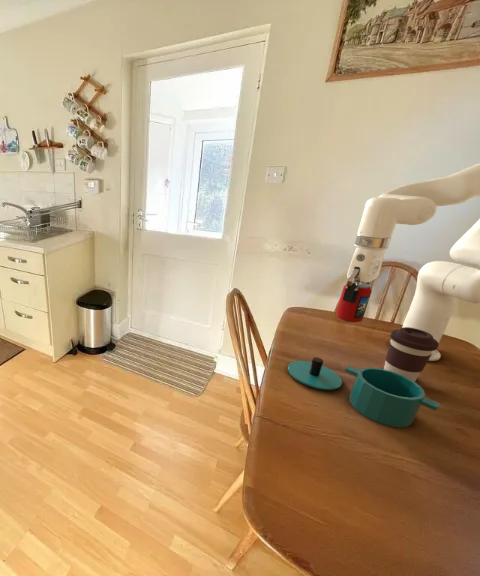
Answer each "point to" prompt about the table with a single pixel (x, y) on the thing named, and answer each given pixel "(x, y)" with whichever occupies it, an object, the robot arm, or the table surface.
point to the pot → (387, 396)
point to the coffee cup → (409, 351)
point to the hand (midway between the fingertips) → (354, 298)
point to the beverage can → (354, 305)
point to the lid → (314, 374)
